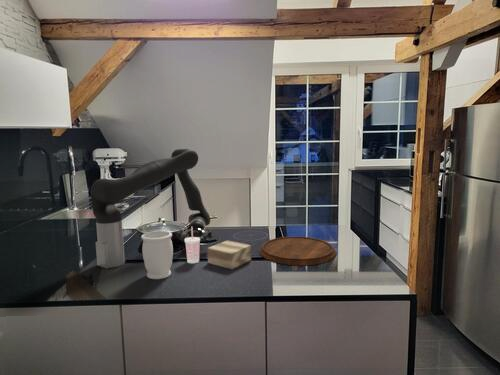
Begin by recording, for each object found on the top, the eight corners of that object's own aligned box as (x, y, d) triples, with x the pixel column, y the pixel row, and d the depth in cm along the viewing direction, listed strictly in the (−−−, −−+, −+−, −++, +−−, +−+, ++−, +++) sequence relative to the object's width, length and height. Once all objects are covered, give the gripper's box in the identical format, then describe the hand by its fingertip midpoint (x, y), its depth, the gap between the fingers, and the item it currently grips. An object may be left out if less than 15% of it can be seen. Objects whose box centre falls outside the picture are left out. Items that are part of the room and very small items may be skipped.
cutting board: (245, 258, 150) (245, 252, 149) (277, 237, 178) (277, 232, 177) (323, 271, 135) (323, 265, 135) (344, 246, 163) (345, 241, 163)
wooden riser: (231, 269, 138) (231, 253, 137) (208, 262, 145) (207, 247, 144) (251, 259, 147) (250, 245, 146) (227, 254, 154) (227, 240, 153)
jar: (158, 283, 126) (156, 240, 124) (137, 277, 132) (134, 236, 129) (180, 272, 135) (178, 232, 133) (159, 267, 140) (157, 229, 138)
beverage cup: (201, 258, 150) (200, 224, 148) (200, 263, 144) (198, 228, 142) (186, 258, 150) (185, 224, 147) (184, 264, 144) (182, 229, 141)
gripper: (180, 220, 166) (175, 230, 150) (212, 219, 167) (210, 229, 151) (181, 237, 167) (176, 248, 151) (212, 236, 168) (211, 247, 152)
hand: (193, 238), depth 151 cm, fingers open, 8 cm apart
